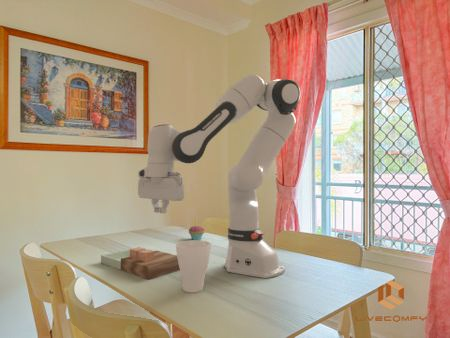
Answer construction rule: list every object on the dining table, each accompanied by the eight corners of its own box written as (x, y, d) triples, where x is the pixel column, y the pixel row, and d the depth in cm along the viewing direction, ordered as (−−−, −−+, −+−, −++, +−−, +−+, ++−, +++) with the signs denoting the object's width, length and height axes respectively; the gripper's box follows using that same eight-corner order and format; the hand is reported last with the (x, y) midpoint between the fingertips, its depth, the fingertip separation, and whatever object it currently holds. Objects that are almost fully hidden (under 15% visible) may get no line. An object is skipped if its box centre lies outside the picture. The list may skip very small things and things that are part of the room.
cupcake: (187, 238, 170) (187, 216, 170) (202, 237, 172) (202, 215, 172) (190, 241, 161) (190, 218, 162) (206, 240, 164) (206, 217, 164)
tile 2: (154, 259, 112) (154, 251, 112) (145, 261, 109) (145, 253, 109) (147, 257, 115) (147, 249, 115) (138, 259, 112) (138, 251, 112)
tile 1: (145, 257, 115) (145, 248, 115) (136, 259, 112) (136, 250, 112) (138, 255, 118) (139, 247, 118) (129, 257, 115) (129, 249, 115)
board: (184, 268, 116) (184, 257, 116) (149, 279, 103) (149, 267, 103) (156, 260, 125) (156, 250, 126) (120, 269, 113) (120, 258, 113)
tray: (156, 260, 125) (156, 253, 126) (120, 269, 113) (120, 261, 113) (136, 255, 134) (136, 248, 134) (100, 263, 121) (101, 255, 121)
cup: (217, 288, 95) (218, 243, 95) (191, 298, 87) (192, 249, 88) (194, 280, 102) (194, 238, 102) (168, 289, 94) (168, 243, 95)
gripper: (188, 172, 104) (188, 214, 104) (149, 172, 117) (148, 209, 117) (174, 172, 99) (173, 216, 99) (134, 172, 112) (134, 211, 112)
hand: (160, 212), depth 108 cm, fingers closed
